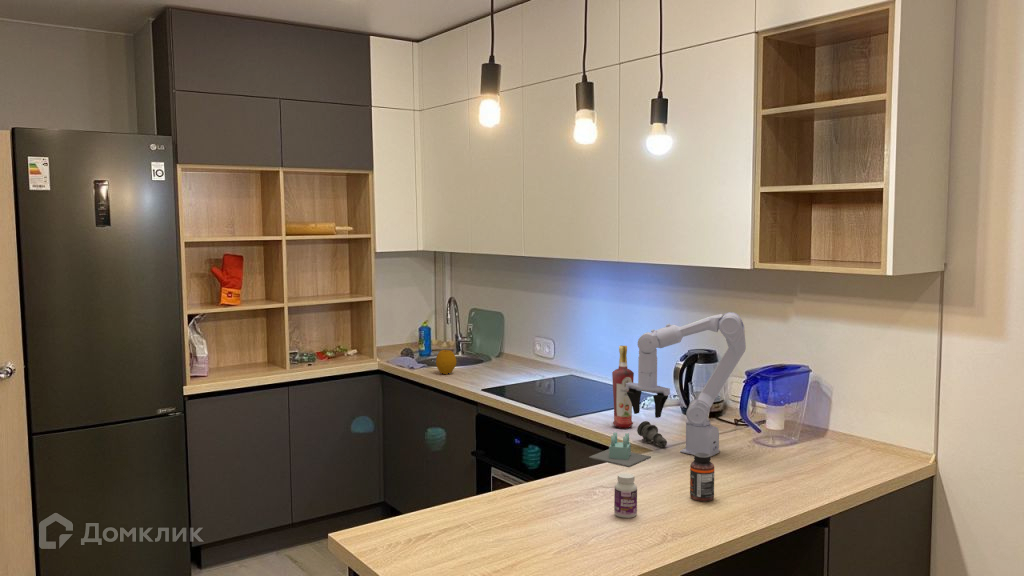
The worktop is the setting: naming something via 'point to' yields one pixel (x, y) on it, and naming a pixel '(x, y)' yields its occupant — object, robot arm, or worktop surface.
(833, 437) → the worktop surface
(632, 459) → the mat
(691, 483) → the supplement bottle
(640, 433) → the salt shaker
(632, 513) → the pill bottle
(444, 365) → the orange rounded oval
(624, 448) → the stool
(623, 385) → the liquor
